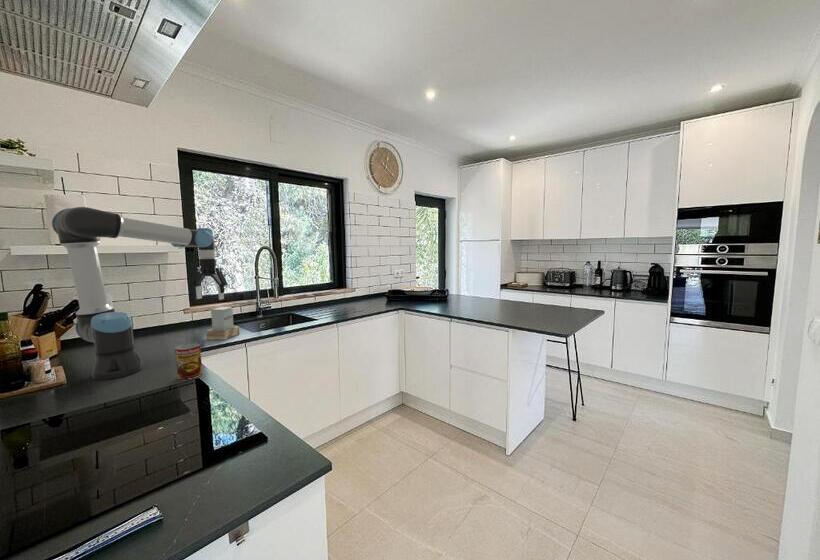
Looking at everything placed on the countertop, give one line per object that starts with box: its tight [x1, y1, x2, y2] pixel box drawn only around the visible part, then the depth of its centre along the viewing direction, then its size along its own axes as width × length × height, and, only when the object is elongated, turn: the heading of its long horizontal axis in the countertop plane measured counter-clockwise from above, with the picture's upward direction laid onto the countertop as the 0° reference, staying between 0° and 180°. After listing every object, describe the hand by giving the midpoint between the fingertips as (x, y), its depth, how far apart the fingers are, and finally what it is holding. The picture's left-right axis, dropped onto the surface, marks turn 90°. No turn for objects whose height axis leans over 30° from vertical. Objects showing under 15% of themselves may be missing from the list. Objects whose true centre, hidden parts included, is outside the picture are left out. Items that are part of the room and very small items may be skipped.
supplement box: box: [210, 306, 235, 331], centre depth 183 cm, size 7×7×13 cm
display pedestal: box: [205, 325, 240, 340], centre depth 184 cm, size 11×11×4 cm
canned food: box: [174, 342, 203, 380], centre depth 130 cm, size 8×8×12 cm
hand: (210, 299), depth 178 cm, fingers open, 13 cm apart
